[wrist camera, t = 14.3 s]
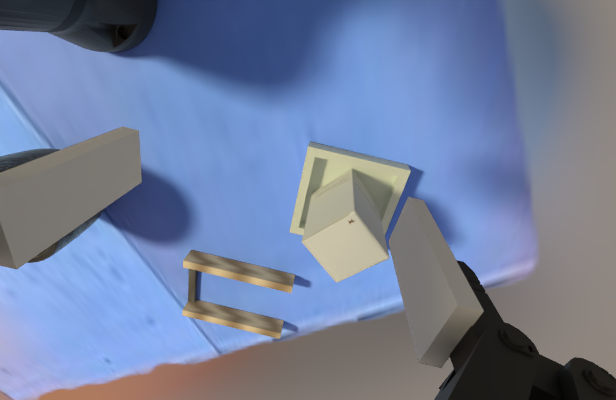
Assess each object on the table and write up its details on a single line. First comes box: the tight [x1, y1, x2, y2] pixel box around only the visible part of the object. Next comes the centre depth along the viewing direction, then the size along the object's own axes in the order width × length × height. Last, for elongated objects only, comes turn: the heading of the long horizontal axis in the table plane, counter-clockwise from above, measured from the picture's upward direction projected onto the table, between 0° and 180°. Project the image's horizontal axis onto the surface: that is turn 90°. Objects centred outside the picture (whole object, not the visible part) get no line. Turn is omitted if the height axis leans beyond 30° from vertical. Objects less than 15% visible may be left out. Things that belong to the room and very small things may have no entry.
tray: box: [290, 142, 411, 236], centre depth 43 cm, size 14×14×2 cm
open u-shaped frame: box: [183, 250, 295, 339], centre depth 54 cm, size 19×14×3 cm
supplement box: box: [302, 169, 389, 282], centre depth 38 cm, size 7×7×13 cm
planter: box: [0, 149, 105, 263], centre depth 42 cm, size 14×14×13 cm
